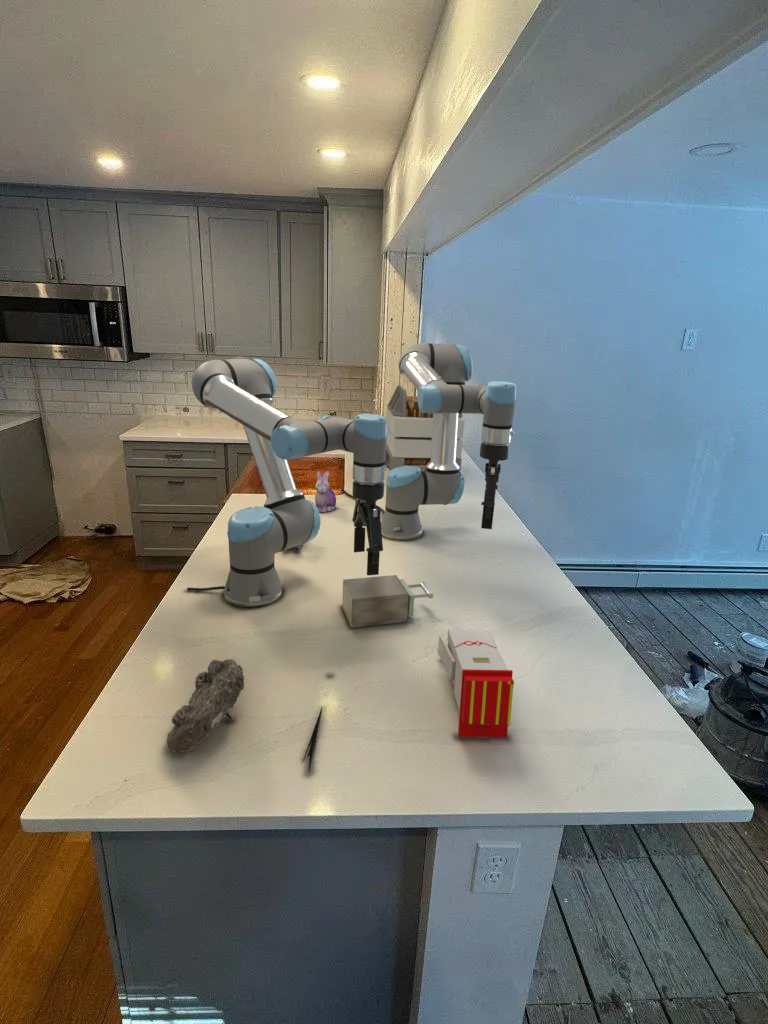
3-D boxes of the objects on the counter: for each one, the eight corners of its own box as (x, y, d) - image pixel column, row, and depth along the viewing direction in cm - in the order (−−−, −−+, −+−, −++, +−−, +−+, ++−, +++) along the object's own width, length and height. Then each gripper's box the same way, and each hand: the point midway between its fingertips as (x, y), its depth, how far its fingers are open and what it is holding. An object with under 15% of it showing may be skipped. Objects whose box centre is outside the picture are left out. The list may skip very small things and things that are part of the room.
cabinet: (394, 601, 154) (396, 574, 151) (406, 621, 144) (408, 593, 141) (342, 606, 150) (342, 579, 147) (351, 627, 140) (351, 599, 137)
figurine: (318, 514, 215) (318, 476, 210) (309, 505, 223) (309, 469, 218) (341, 511, 219) (342, 473, 214) (331, 503, 227) (331, 467, 222)
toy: (488, 613, 130) (523, 677, 101) (484, 667, 133) (517, 744, 104) (435, 612, 130) (455, 676, 101) (432, 666, 133) (451, 743, 103)
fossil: (192, 660, 117) (244, 628, 112) (224, 691, 120) (276, 661, 115) (142, 746, 98) (202, 712, 93) (182, 779, 101) (242, 748, 96)
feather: (331, 679, 122) (336, 673, 122) (307, 777, 96) (313, 769, 95) (324, 675, 122) (329, 669, 121) (298, 772, 95) (304, 764, 95)
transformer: (382, 463, 289) (386, 382, 275) (445, 464, 293) (451, 384, 279) (390, 482, 257) (394, 392, 243) (460, 483, 261) (468, 394, 247)
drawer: (422, 596, 155) (423, 576, 153) (434, 614, 146) (435, 593, 144) (354, 603, 150) (354, 582, 148) (362, 621, 141) (363, 600, 139)
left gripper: (399, 496, 124) (394, 583, 131) (370, 466, 146) (367, 542, 154) (366, 498, 122) (363, 586, 129) (342, 467, 144) (340, 543, 151)
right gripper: (510, 455, 135) (500, 537, 142) (509, 434, 158) (501, 506, 165) (479, 452, 136) (470, 534, 143) (482, 432, 159) (475, 504, 166)
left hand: (365, 562), depth 141 cm, fingers open, 13 cm apart
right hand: (487, 519), depth 154 cm, fingers open, 13 cm apart
